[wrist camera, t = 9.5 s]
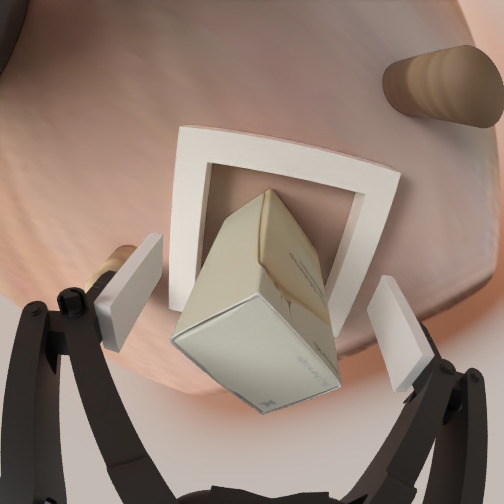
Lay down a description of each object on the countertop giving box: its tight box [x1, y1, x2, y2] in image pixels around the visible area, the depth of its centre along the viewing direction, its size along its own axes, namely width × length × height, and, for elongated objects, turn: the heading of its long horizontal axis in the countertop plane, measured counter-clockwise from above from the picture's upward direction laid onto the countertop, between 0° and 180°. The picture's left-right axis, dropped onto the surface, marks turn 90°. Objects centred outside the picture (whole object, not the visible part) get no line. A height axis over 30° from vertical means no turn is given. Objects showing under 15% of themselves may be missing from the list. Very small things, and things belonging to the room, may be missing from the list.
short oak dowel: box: [84, 245, 138, 293], centre depth 21 cm, size 4×4×5 cm
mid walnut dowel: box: [382, 45, 504, 128], centre depth 11 cm, size 4×4×8 cm
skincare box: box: [170, 189, 341, 414], centre depth 16 cm, size 6×4×12 cm
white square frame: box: [169, 124, 401, 338], centre depth 20 cm, size 14×14×2 cm
